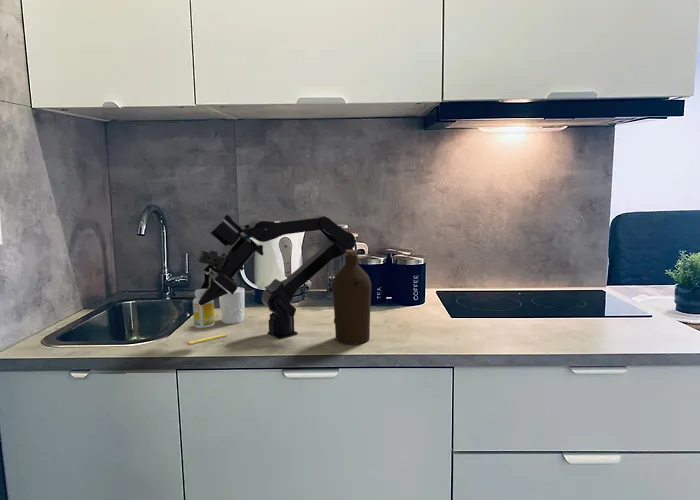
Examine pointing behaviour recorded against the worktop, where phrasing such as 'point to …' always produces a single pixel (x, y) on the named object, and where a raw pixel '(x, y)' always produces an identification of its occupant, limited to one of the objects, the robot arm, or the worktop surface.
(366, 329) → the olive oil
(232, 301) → the white cup
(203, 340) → the yellow flat stick
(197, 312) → the supplement bottle
